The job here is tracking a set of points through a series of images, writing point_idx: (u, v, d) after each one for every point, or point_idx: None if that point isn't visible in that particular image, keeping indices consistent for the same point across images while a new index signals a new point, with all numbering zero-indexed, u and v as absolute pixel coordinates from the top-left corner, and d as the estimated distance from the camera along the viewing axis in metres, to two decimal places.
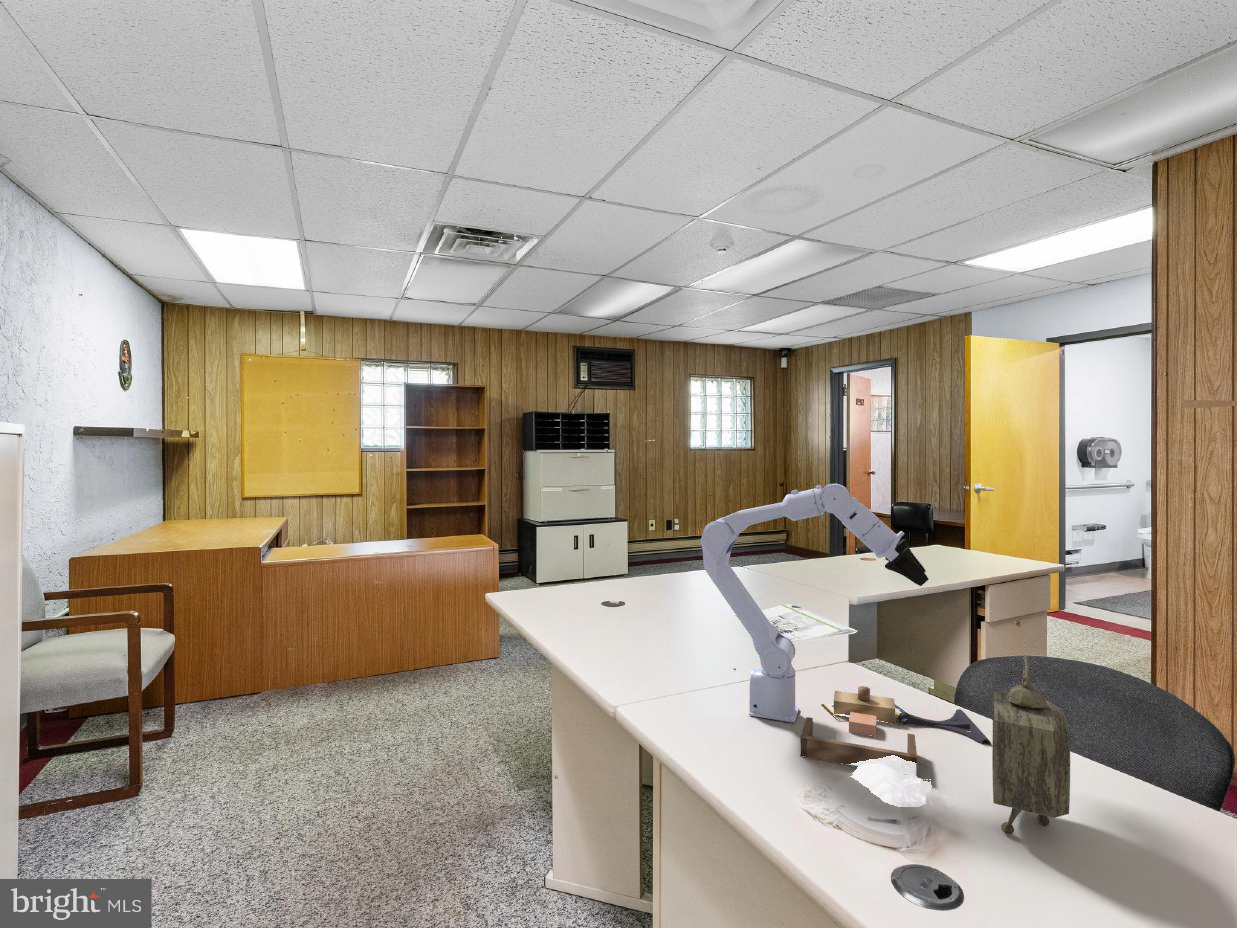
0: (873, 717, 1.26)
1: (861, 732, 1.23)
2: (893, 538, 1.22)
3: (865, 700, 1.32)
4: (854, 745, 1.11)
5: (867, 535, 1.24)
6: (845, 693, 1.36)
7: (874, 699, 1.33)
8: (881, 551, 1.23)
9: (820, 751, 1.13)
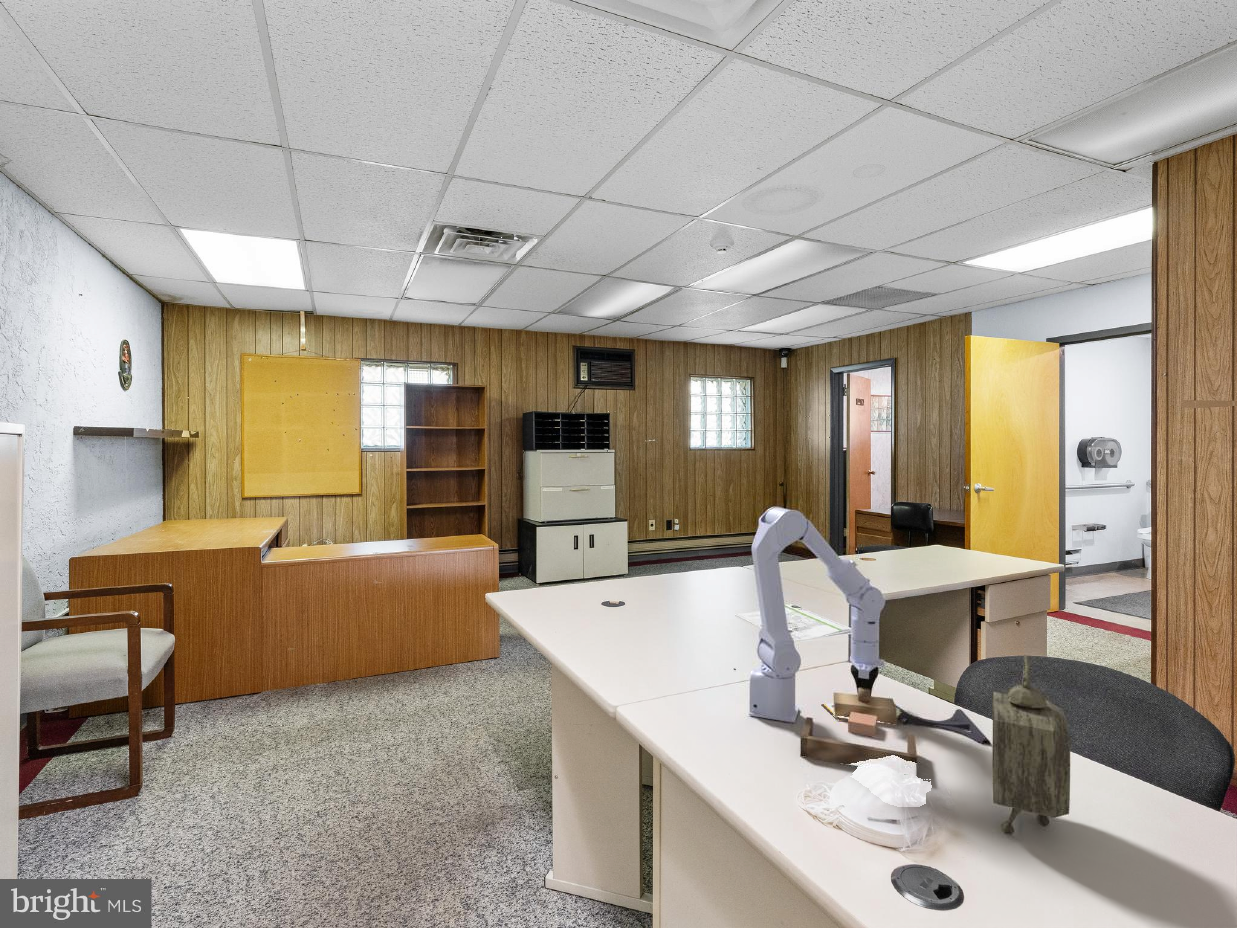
0: (873, 717, 1.26)
1: (860, 732, 1.23)
2: (874, 661, 1.33)
3: (866, 701, 1.31)
4: (854, 745, 1.11)
5: (860, 643, 1.34)
6: (844, 695, 1.35)
7: (874, 700, 1.32)
8: (857, 661, 1.34)
9: (820, 751, 1.13)
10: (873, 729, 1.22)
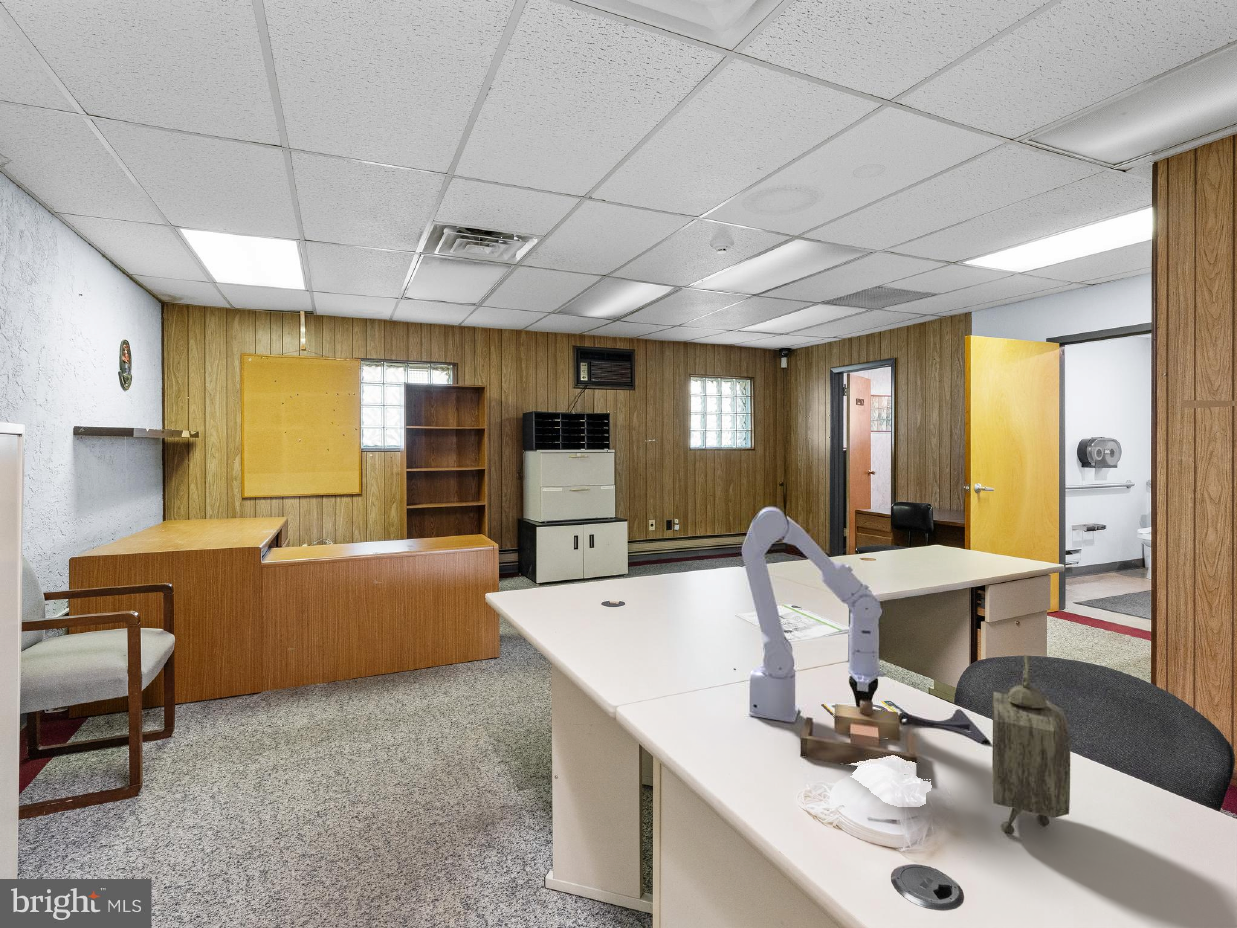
0: (875, 728, 1.21)
1: (863, 744, 1.18)
2: (874, 672, 1.26)
3: (868, 714, 1.24)
4: (854, 745, 1.11)
5: (858, 653, 1.27)
6: (846, 706, 1.28)
7: (877, 713, 1.25)
8: (856, 672, 1.27)
9: (820, 751, 1.13)
10: (877, 741, 1.17)
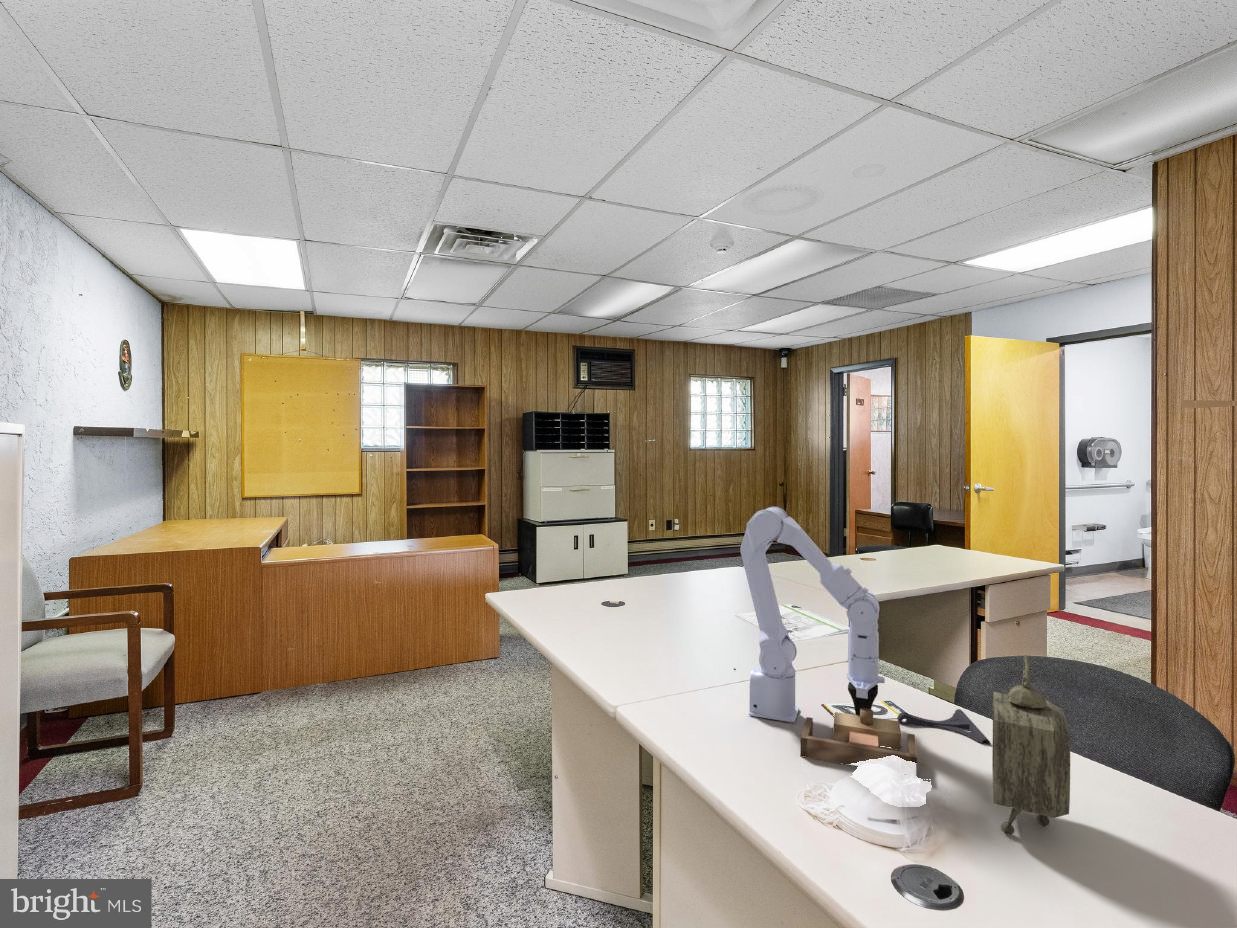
0: (874, 737, 1.17)
1: None
2: (873, 679, 1.23)
3: (868, 723, 1.20)
4: (854, 745, 1.11)
5: (858, 659, 1.23)
6: (846, 715, 1.25)
7: (877, 722, 1.22)
8: (855, 678, 1.24)
9: (820, 751, 1.13)
10: None
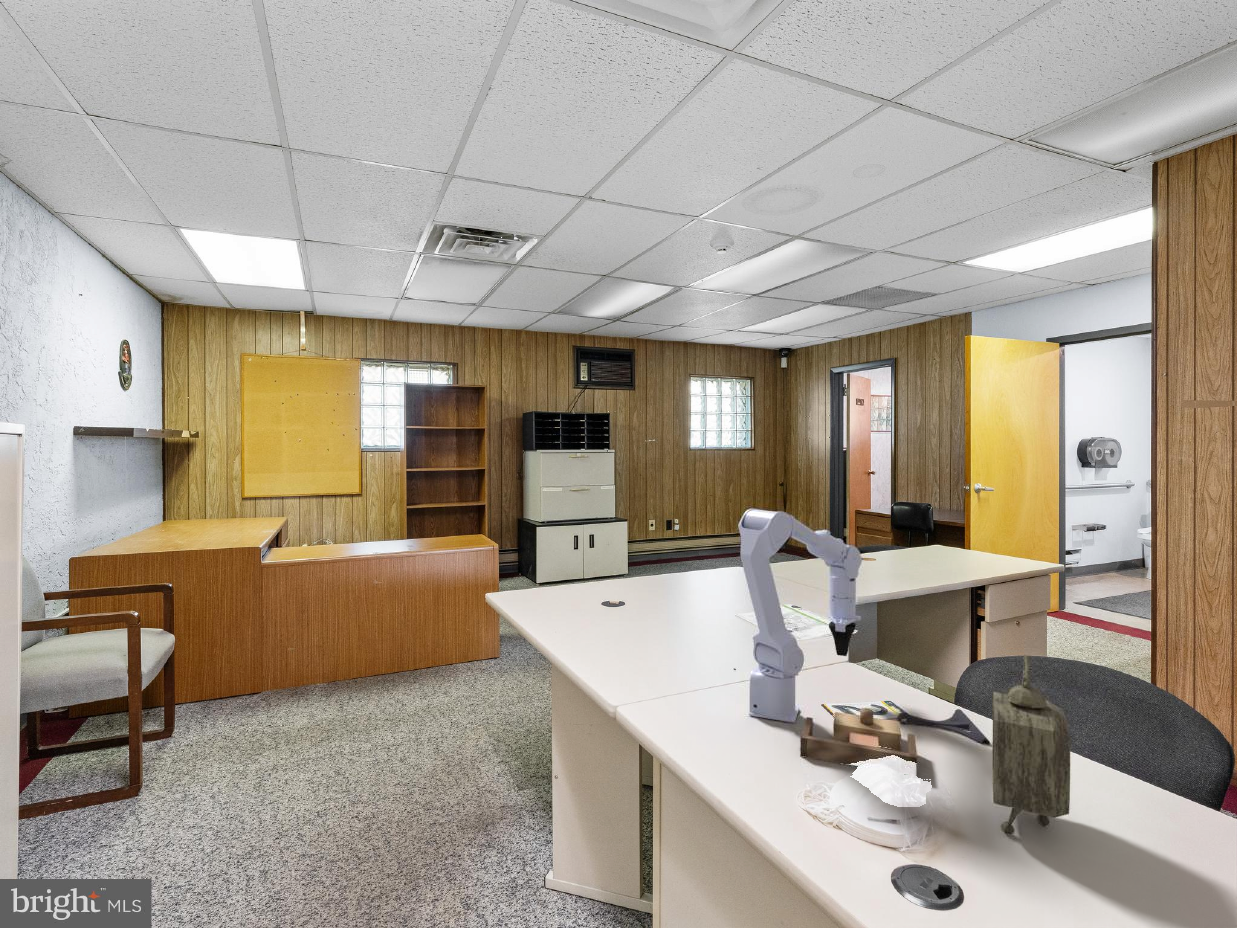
0: (875, 737, 1.17)
1: None
2: (851, 617, 1.40)
3: (868, 724, 1.20)
4: (854, 745, 1.11)
5: (837, 599, 1.41)
6: (846, 715, 1.25)
7: (878, 722, 1.21)
8: (835, 617, 1.41)
9: (820, 751, 1.13)
10: None
